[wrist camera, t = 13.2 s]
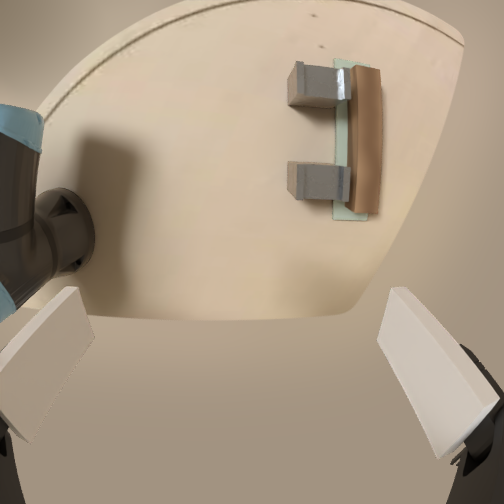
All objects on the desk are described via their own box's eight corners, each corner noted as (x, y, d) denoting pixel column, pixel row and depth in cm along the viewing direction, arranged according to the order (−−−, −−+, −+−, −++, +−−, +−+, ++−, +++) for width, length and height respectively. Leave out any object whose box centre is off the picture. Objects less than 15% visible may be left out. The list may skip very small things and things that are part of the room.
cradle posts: (286, 189, 37) (296, 200, 29) (286, 78, 31) (296, 61, 23) (329, 191, 37) (348, 201, 29) (330, 83, 31) (349, 68, 24)
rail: (344, 206, 37) (354, 212, 33) (346, 71, 30) (356, 64, 26) (366, 207, 37) (377, 213, 33) (368, 76, 30) (379, 69, 26)
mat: (331, 218, 38) (333, 219, 38) (333, 59, 30) (334, 58, 29) (365, 219, 38) (367, 220, 38) (368, 65, 30) (369, 64, 29)
